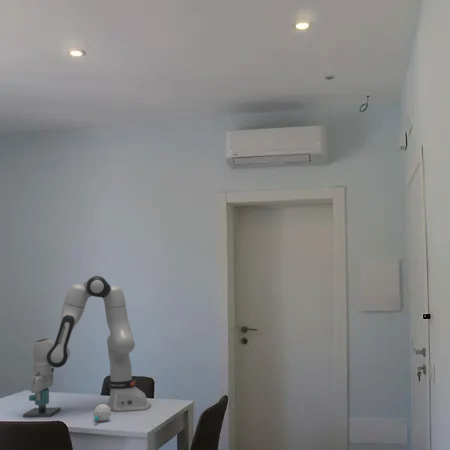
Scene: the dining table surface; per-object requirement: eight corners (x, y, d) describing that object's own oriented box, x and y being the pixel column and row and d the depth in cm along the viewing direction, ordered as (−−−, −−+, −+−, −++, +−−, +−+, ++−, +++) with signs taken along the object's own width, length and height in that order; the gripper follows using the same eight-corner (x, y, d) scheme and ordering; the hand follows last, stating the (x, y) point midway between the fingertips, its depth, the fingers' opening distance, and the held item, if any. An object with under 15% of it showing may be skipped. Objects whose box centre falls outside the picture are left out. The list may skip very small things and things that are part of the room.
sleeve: (50, 402, 304) (50, 388, 305) (45, 405, 298) (45, 390, 298) (32, 402, 305) (32, 388, 305) (27, 405, 298) (27, 391, 299)
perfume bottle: (116, 411, 285) (107, 420, 273) (104, 420, 286) (94, 430, 275) (107, 398, 286) (97, 407, 274) (94, 408, 287) (84, 417, 275)
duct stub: (60, 410, 307) (60, 387, 308) (50, 416, 293) (50, 393, 294) (34, 410, 308) (34, 388, 309) (23, 417, 294) (23, 393, 295)
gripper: (39, 374, 292) (40, 402, 291) (55, 367, 312) (55, 394, 311) (27, 374, 292) (27, 403, 291) (43, 368, 313) (43, 394, 312)
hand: (42, 398), depth 301 cm, fingers closed on sleeve, 6 cm apart
